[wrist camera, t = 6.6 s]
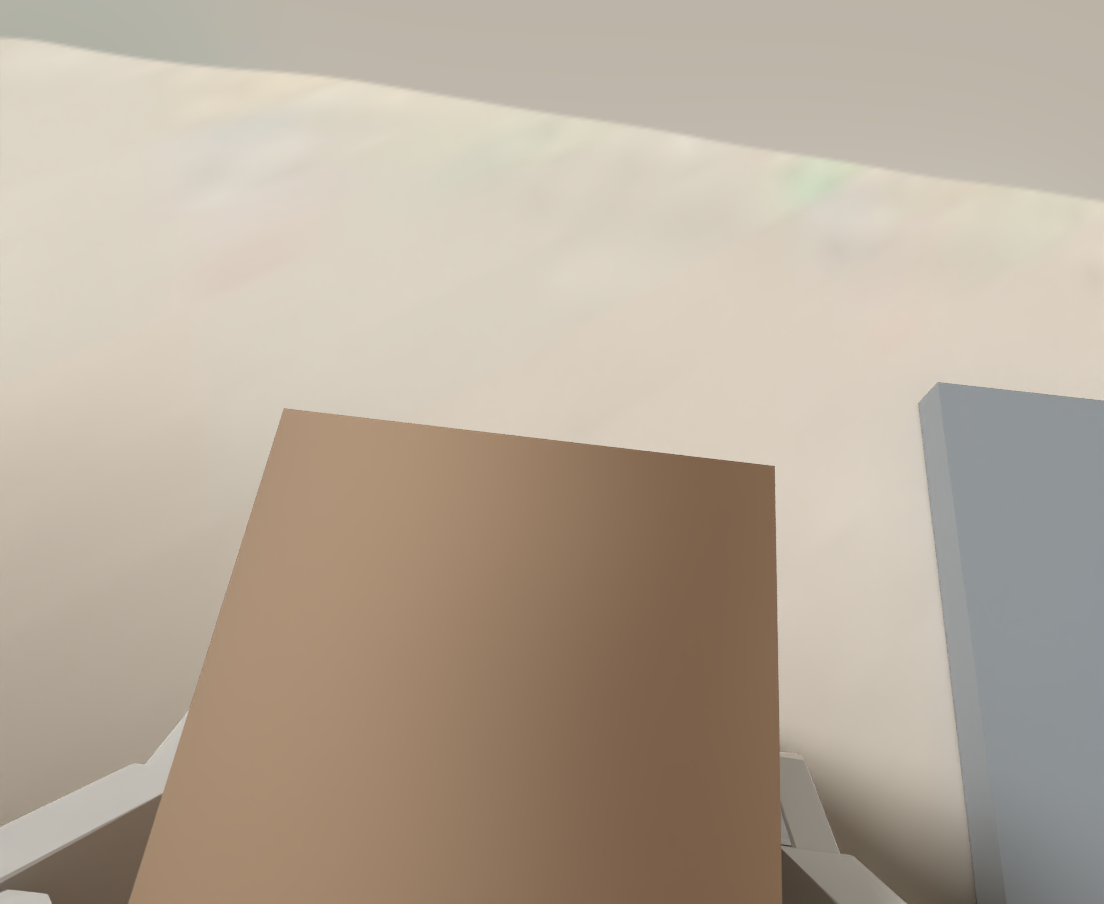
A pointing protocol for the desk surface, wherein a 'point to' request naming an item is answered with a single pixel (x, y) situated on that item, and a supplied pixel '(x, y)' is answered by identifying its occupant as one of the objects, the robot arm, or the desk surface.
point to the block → (483, 680)
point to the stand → (1024, 631)
